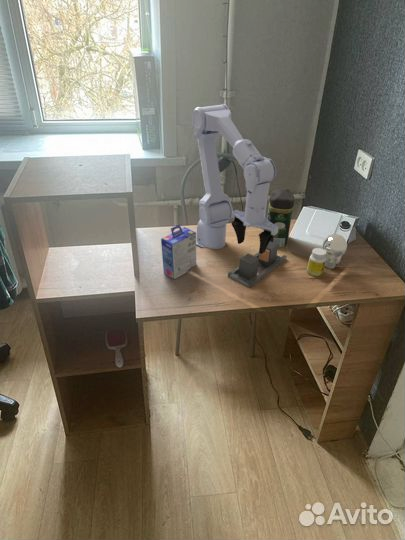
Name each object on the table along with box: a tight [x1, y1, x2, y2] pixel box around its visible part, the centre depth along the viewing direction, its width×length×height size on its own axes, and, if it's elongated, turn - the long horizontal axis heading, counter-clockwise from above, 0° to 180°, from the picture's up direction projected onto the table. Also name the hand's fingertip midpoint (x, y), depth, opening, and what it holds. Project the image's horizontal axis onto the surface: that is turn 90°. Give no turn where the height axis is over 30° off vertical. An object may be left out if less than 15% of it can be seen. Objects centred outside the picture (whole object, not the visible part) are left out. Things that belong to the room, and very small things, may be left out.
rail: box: [227, 251, 287, 289], centre depth 120 cm, size 8×20×2 cm, turn 139°
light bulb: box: [322, 233, 348, 270], centre depth 119 cm, size 7×7×12 cm
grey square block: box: [238, 252, 259, 281], centre depth 115 cm, size 4×5×6 cm
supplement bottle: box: [306, 247, 326, 277], centre depth 118 cm, size 5×5×8 cm
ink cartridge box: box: [160, 224, 197, 280], centre depth 116 cm, size 10×6×14 cm, turn 137°
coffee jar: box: [266, 187, 295, 248], centre depth 130 cm, size 10×8×19 cm
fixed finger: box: [259, 241, 279, 266], centre depth 122 cm, size 4×5×6 cm
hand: (251, 247), depth 113 cm, fingers open, 7 cm apart
